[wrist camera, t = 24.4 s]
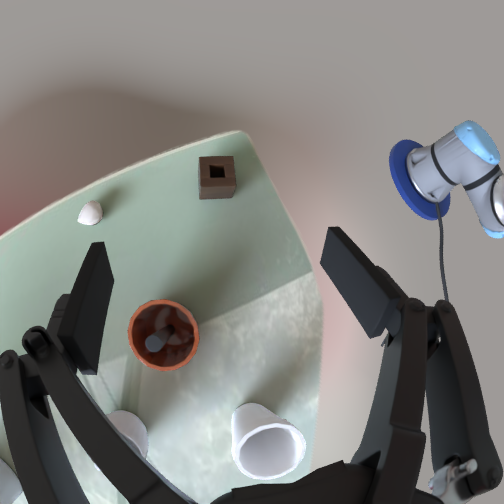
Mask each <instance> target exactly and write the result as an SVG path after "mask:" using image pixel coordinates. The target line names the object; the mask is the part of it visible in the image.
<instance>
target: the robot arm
mask: <svg viewBox="0 0 504 504" xmlns="http://www.w3.org/2000/svg"><path fill="white" fill-rule="evenodd" d="M499 161H500V154H499V152H498V150H497V147H496V145H495V143H494V142H493V140H492V139H491V137H490V136H489V135H488V133H487V132H486V131H485V130H484V129H483V128H482V127H481V126H480V125H478V124H477V123H475V122H473V121H469V120H468V121H465V122H463V123H461V124H460V125H458V126H455V127H454V129H453V130H452V131H451V132H449V133H448V134H446V135H445V136H443V137H442V138H441V139H439V140H438V141H436V142H435V143H434V144H432V145H430V146H426V147H422V148H416V149H413V150H412V151H411V152H409V153H408V154H407V155H406V157H405V170H406V174H407V177H408V179H409V181H410V183H411V185H412V187H413V188H414V190H415V191H416V193H417V194H418V195H419V196H420V197H421V198H422V199H423V200H425V201H426V202H428V203H430V204H435V205H436V210H437V215H438V220H439V227H440V269H441V277H442V284H443V290H444V296H445V300H438V301H437V302H436V304H435V306H434V307H431V306H425V305H424V303H423V302H421V301H420V300H418V299H416V298H409V297H408V296H407V295H406V294H405V293H404V292H403V290H402V289H401V288H400V287H399V286H398V284H397V283H395V281H394V280H393V279H392V278H391V277H390V275H389V274H388V273H387V272H386V271H385V270H384V269H382V268H381V267H379V266H375V265H374V264H373V263H372V262H371V261H370V259H369V258H368V257H367V256H366V255H365V254H364V253H363V252H362V251H361V250H360V248H359V247H358V246H357V245H356V244H355V243H354V242H353V241H352V240H351V239H350V238H349V237H348V236H347V235H346V233H344V231H343V230H342V229H341V228H340V227H328V231H327V235H326V240H325V244H324V249H323V253H322V257H321V261H320V264H321V266H322V267H323V269H324V270H325V272H326V273H327V275H328V276H329V277H330V279H331V280H332V282H333V283H334V285H335V286H336V288H337V289H338V291H339V292H340V294H341V295H342V297H343V298H344V300H345V301H346V302H347V304H348V306H349V307H350V308H351V310H352V312H353V313H354V315H355V316H356V318H357V319H358V321H359V322H360V324H361V326H362V327H363V329H364V330H365V332H366V334H367V335H368V337H369V338H370V339H371V338H374V337H377V336H380V335H381V334H382V333H383V331H384V329H385V327H386V329H387V330H388V334H387V336H386V338H385V339H384V341H383V343H382V344H381V346H383V345H384V344H385V347H384V353H383V359H382V364H381V369H380V374H379V378H378V383H377V387H376V391H375V396H374V400H373V404H372V408H371V411H370V415H369V419H368V422H367V425H366V429H365V432H364V435H363V439H362V441H361V444H360V447H359V448H358V450H357V451H356V453H355V454H354V456H353V458H352V460H351V462H350V463H344V462H343V460H341V461H338V462H336V463H333V464H330V465H327V466H324V467H322V468H319V469H317V470H315V471H313V472H312V473H310V474H308V475H306V476H305V477H303V478H301V479H299V480H297V481H296V482H294V483H287V484H257V485H252V486H246V487H240V488H233V489H232V491H231V492H229V493H226V494H224V495H222V496H220V497H218V498H217V499H215V500H214V501H213V502H211V503H210V504H466V503H467V502H468V501H469V500H471V499H472V498H473V497H476V496H478V495H481V494H483V493H486V492H488V491H490V490H492V489H494V488H496V487H497V486H498V485H499V484H500V482H501V480H502V477H503V469H502V465H501V462H500V459H499V457H498V454H497V451H496V449H495V446H494V443H493V441H492V439H491V436H490V434H489V427H488V421H487V415H486V410H485V405H484V401H483V396H482V391H481V387H480V383H479V379H478V376H477V372H476V369H475V365H474V362H473V359H472V355H471V352H470V349H469V346H468V343H467V340H466V337H465V334H464V332H463V329H462V326H461V324H460V321H459V319H458V316H457V313H456V311H455V309H454V307H453V305H451V303H449V300H448V293H447V287H446V281H445V274H444V265H443V225H442V219H441V214H440V209H439V204H438V203H439V202H441V201H442V200H443V199H444V198H445V197H446V196H447V195H448V194H449V193H450V191H451V190H452V189H453V188H454V186H456V185H458V184H460V183H461V184H462V185H463V187H464V189H465V191H466V193H467V195H468V197H469V199H470V201H471V202H472V204H473V206H474V209H475V211H476V213H477V215H478V217H479V221H480V223H481V225H482V226H483V228H484V230H485V232H486V233H487V234H488V235H489V236H491V237H493V238H502V237H503V236H504V174H503V173H502V171H501V169H500V167H499V165H498V163H499ZM113 284H114V278H113V274H112V271H111V267H110V263H109V260H108V256H107V252H106V248H105V244H104V242H94V243H92V244H91V246H90V248H89V250H88V252H87V255H86V257H85V259H84V261H83V264H82V266H81V269H80V271H79V273H78V276H77V278H76V281H75V283H74V286H73V289H72V291H71V294H63V295H62V296H61V297H60V298H59V299H58V300H57V302H56V304H55V307H54V311H53V312H52V315H51V318H50V321H49V324H48V327H47V329H45V328H44V327H42V326H34V327H32V328H30V329H29V330H27V331H26V333H25V334H24V336H23V338H22V346H23V347H24V349H25V350H26V351H27V353H28V354H25V355H22V356H18V355H17V353H16V352H15V351H13V350H6V351H5V352H3V353H2V354H1V355H0V402H1V409H2V415H3V421H4V426H5V431H6V435H7V440H8V444H9V448H10V452H11V455H12V459H13V462H14V465H15V469H16V472H17V475H18V478H19V480H20V483H21V486H22V489H23V491H24V494H25V496H26V499H27V501H28V503H29V504H90V503H89V501H88V499H87V497H86V496H85V494H84V492H83V490H82V488H81V486H80V484H79V482H78V480H77V478H76V476H75V474H74V471H73V469H72V467H71V465H70V462H69V460H68V458H67V455H66V453H65V450H64V448H63V445H62V442H61V440H60V437H59V434H58V431H57V428H56V425H55V422H54V419H53V416H52V413H51V409H50V406H49V402H48V398H47V395H50V397H51V398H52V400H53V402H54V404H55V405H56V407H57V409H58V411H59V412H60V414H61V416H62V417H63V419H64V420H65V422H66V424H67V425H68V427H69V428H70V430H71V431H72V433H73V434H74V436H75V437H76V439H77V440H78V441H79V443H80V444H81V446H82V447H83V448H84V450H85V451H86V452H87V454H88V455H89V456H90V458H91V459H92V460H93V462H94V463H95V464H96V465H97V467H98V468H99V469H100V470H101V471H102V473H103V474H104V475H105V476H106V477H107V478H108V480H109V481H110V482H111V483H112V484H113V485H114V486H115V487H116V488H117V490H118V491H119V492H120V493H121V494H122V495H123V496H124V497H125V498H126V499H127V500H128V502H129V503H130V504H198V503H196V502H195V501H194V500H193V499H191V498H190V497H189V496H187V495H186V494H185V493H183V492H182V491H181V490H179V489H178V488H177V487H175V486H174V485H173V484H172V483H171V482H170V481H168V480H167V479H166V478H165V477H164V476H163V475H162V474H161V473H159V472H158V471H157V470H156V469H155V468H154V467H153V466H152V465H151V464H150V463H149V462H148V461H147V460H146V459H145V458H144V457H143V456H142V455H141V454H140V453H139V452H138V451H137V450H136V449H135V448H134V447H133V446H132V445H131V444H130V443H129V442H128V441H127V439H126V438H125V437H124V436H123V435H122V434H121V433H120V432H119V430H118V429H117V428H116V427H115V426H114V425H113V423H112V422H111V421H110V420H109V419H108V417H107V416H106V415H105V414H104V412H103V411H102V410H101V409H100V407H99V406H98V405H97V403H96V402H95V401H94V399H93V398H92V397H91V395H90V394H89V393H88V391H87V390H86V388H85V387H84V385H83V384H82V383H81V381H80V380H79V378H78V377H77V375H76V373H77V368H78V369H79V370H80V372H81V373H82V374H84V375H97V370H98V363H99V356H100V349H101V343H102V337H103V331H104V326H105V321H106V316H107V311H108V306H109V302H110V297H111V293H112V288H113ZM439 337H441V341H440V342H439V339H438V338H439ZM425 390H426V397H427V405H428V414H429V425H430V439H431V454H432V455H431V456H432V464H433V470H434V473H435V474H434V477H433V478H432V479H430V481H429V485H428V486H429V488H430V489H431V490H433V491H432V494H429V493H427V492H424V491H421V490H419V489H416V484H417V480H418V476H419V472H420V468H421V463H422V459H423V454H424V449H425V443H426V435H425V433H424V432H421V429H420V428H421V421H422V414H423V406H424V397H425Z"/></svg>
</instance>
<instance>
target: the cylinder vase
mask: <svg viewBox="0 0 504 504" xmlns="http://www.w3.org/2000/svg"><path fill="white" fill-rule="evenodd" d="M21 493H22V487H21V484H20V481H19V479H18V478H17V476H16V475H15V473H14V472H13V471H12V469H11V468H10V467H9V466H8V465H7V464H6V463H5V462H4V461H3V460H2V459H1V458H0V504H12V503H13V502H14V501H15V500H16V499H17V498H18V496H19V495H20V494H21Z"/></svg>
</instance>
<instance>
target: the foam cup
mask: <svg viewBox="0 0 504 504" xmlns="http://www.w3.org/2000/svg"><path fill="white" fill-rule="evenodd" d="M232 441H233V444H232V455H233V458H234V461H235V463H236V465H237V467H238V468H239V470H240V472H242V473H244V474H245V475H247V476H249V477H250V478H253V479H261V480H270V479H274V478H278V477H282V476H284V475H286V474H287V473H289V472H290V471H292V470H294V469H295V468H296V467H297V465H298V464H299V463H300V462H301V460H302V459H303V458H304V454H305V449H306V442H305V440H304V437H303V434H302V433H301V432H300V431H299V430H298V429H297V428H296V427H295V426H294V425H292V424H291V423H290V422H288V421H287V420H286V419H282V418H280V417H279V416H277V415H276V414H274V413H272V412H271V411H269V410H268V409H266V408H265V407H263V406H262V405H260V404H256V403H247V404H243V405H242V406H240V407H238V408H237V409H236V410H235V412H234V413H233V415H232Z"/></svg>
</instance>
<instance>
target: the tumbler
mask: <svg viewBox="0 0 504 504" xmlns="http://www.w3.org/2000/svg"><path fill="white" fill-rule="evenodd" d="M169 324H170V325H173V326H174V328H175V332H174V333H173V335H172V336H171V337H170V338H169V340H168V341H167V342H166V343H165V344H164V346H163V347H162V348H161V349H160V350H159V351H157V352H152V351H150V350H148V348H147V347H146V339H147V338H148V337H149V336H150V335H152V334H153V333H155V332H157V331H158V330H160V329H162V328H163V327H165V326H167V325H169ZM128 338H129V345H130V347H131V349H132V350H133V352H134V354H135V356H136V357H137V358H138V359H139V360H140V361H141V362H143V363H144V364H145V365H146V366H148V367H150V368H153V369H157V370H160V371H168V370H176V369H178V368H180V367H182V366H184V365H186V364H187V363H188V362H189V361H190V360H191V358H192V357H193V356H194V355H195V353H196V351H197V347H198V343H199V332H198V325H197V322H196V320H195V318H194V316H193V314H192V313H191V311H190V310H188V309H187V308H186V307H185V306H183V305H182V304H179V303H176V302H173V301H170V300H167V299H160V300H151V301H149V302H147V303H145V304H144V305H142V306H140V307H139V308H138V309H137V310H136V312H135V313H134V314H133V316H132V317H131V319H130V323H129V327H128Z"/></svg>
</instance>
